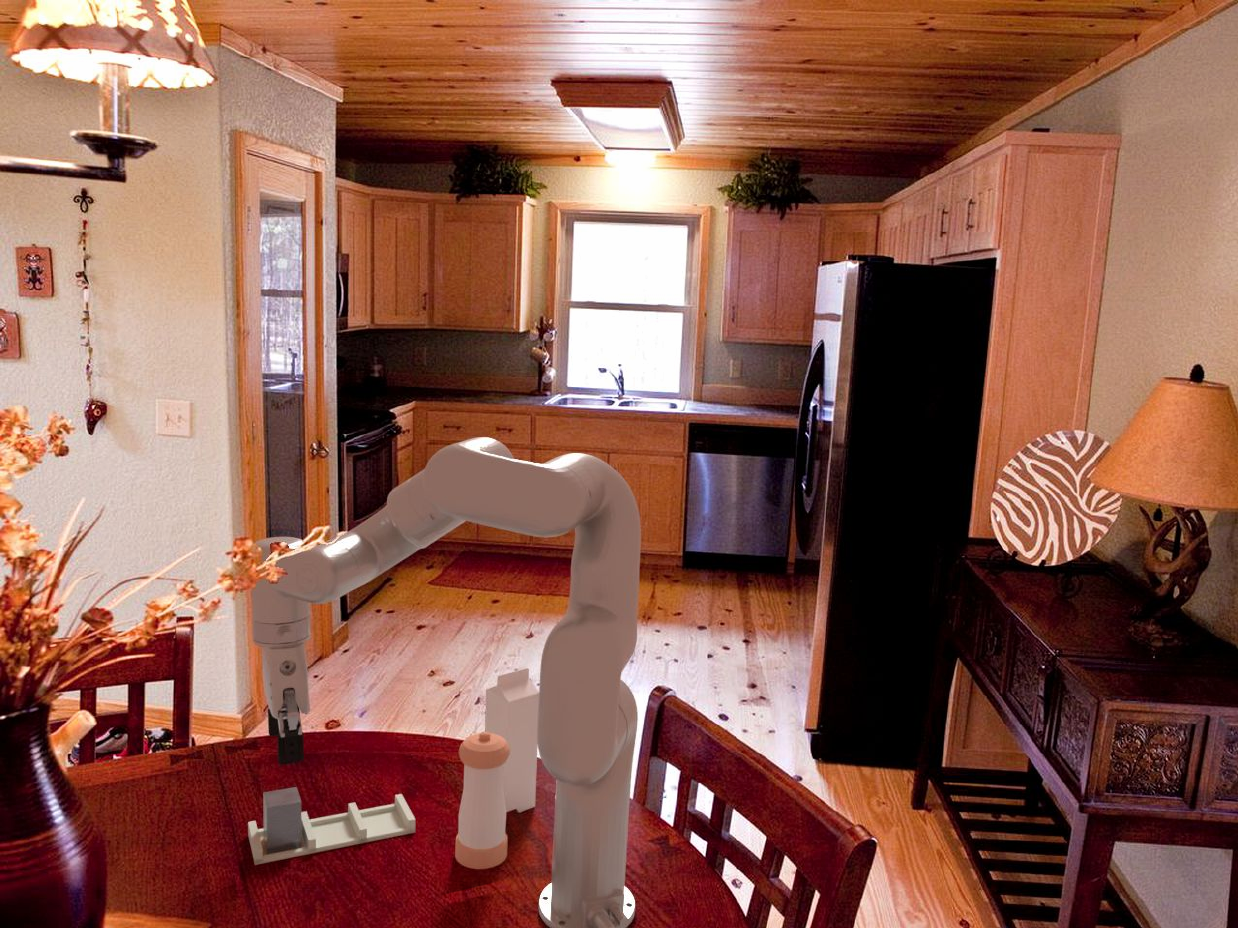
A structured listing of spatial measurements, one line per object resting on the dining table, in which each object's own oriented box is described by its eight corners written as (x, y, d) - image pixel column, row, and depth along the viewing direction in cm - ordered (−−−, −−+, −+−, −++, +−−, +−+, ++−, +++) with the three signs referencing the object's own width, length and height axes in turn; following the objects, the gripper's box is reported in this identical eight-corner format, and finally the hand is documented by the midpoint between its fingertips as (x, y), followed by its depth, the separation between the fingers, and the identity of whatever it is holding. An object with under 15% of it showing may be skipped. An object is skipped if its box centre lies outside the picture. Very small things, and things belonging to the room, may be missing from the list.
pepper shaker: (457, 878, 130) (461, 746, 127) (452, 848, 137) (455, 723, 134) (510, 872, 132) (515, 742, 129) (502, 843, 139) (507, 719, 136)
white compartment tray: (415, 838, 139) (415, 819, 139) (254, 871, 129) (254, 850, 129) (401, 811, 146) (401, 793, 146) (248, 841, 136) (248, 821, 136)
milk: (535, 807, 150) (541, 673, 147) (504, 819, 146) (509, 682, 142) (512, 791, 154) (518, 661, 151) (481, 802, 150) (486, 669, 147)
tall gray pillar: (301, 848, 133) (301, 801, 132) (267, 854, 131) (266, 807, 130) (296, 832, 137) (296, 786, 136) (263, 838, 135) (263, 792, 134)
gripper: (321, 644, 124) (325, 768, 126) (300, 608, 139) (303, 719, 141) (260, 652, 120) (265, 780, 123) (245, 614, 136) (249, 728, 138)
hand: (285, 747), depth 132 cm, fingers open, 9 cm apart
